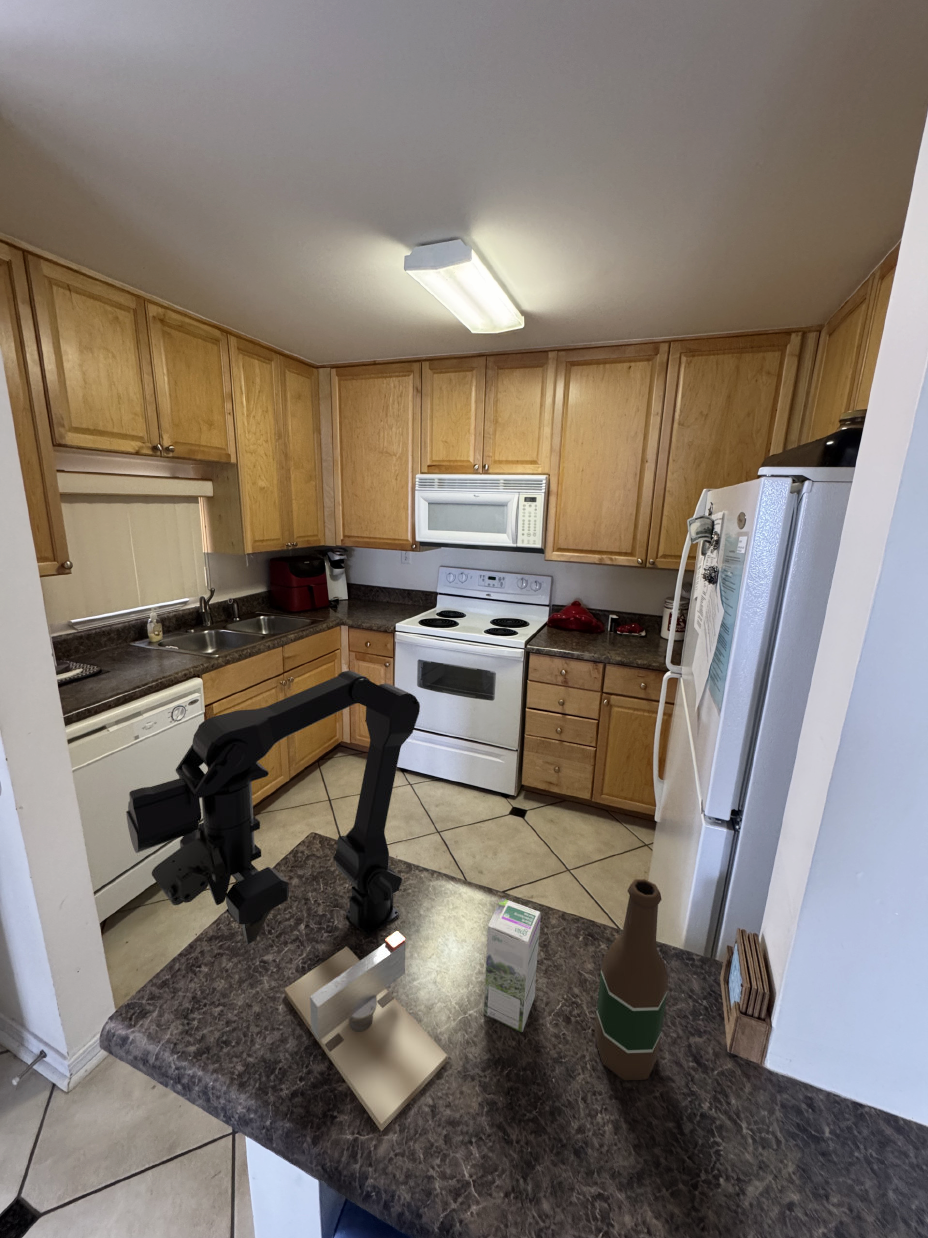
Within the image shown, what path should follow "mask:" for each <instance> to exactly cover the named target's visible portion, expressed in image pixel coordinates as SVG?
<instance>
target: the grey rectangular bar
mask: <svg viewBox="0 0 928 1238" xmlns="http://www.w3.org/2000/svg"><path fill="white" fill-rule="evenodd" d="M384 942H385V943H383V944H382V945H380V946H379V947H378V948H376V949H375V950H373V951H372V952H371V953H369V954H368V955H367V956H364V957H363V958H362V959H360V961H359V962H358V963H356V964H355V965H354V966H352V967H351V968H349V969H348V970H347V971H345V972H344V973H342V974H341V975H340V976H338V977H337V978H335V979H334V980H332V981H331V982H330V983H328V984H327V985H325V986H324V987H323V988H321V989H320V990H318V991H317V992H316V993H314V994H313V995H311V996H310V1006H311V1030H312V1032H313V1033H314V1035H315V1036H316V1038H317V1039H318V1041H320V1040H321V1039H322V1038H324V1037H325V1036H326V1035H328V1034H329V1033H330V1032H331V1031H333V1030H334V1029H335V1028H336V1027H338V1026H339V1025H340V1024H341V1023H343V1022H344V1021H345V1020H347V1019H348V1018H349V1019H350V1020H352V1021H355V1022H361V1021H365V1020H367V1019H369V1018H370V1017H371V1016H372V1015H373V1014H374V1012H375V1010H376V1006H377V995H378V994H379V993H381V992H382V991H383V990H385V989H387V988H388V987H390V986H391V985H392V984H393V983H395V982H397V980H398V979H400V978H402V976H403V975H405V974H406V938H405V937H404V936H403V935H402V934H401V933H400V932H399V931H395V932H394V933H392V934H391V935H389V936H388V937H386V938H385V941H384ZM314 1035H313V1036H314ZM316 1038H315V1039H316ZM318 1041H317V1042H318Z"/></svg>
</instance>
